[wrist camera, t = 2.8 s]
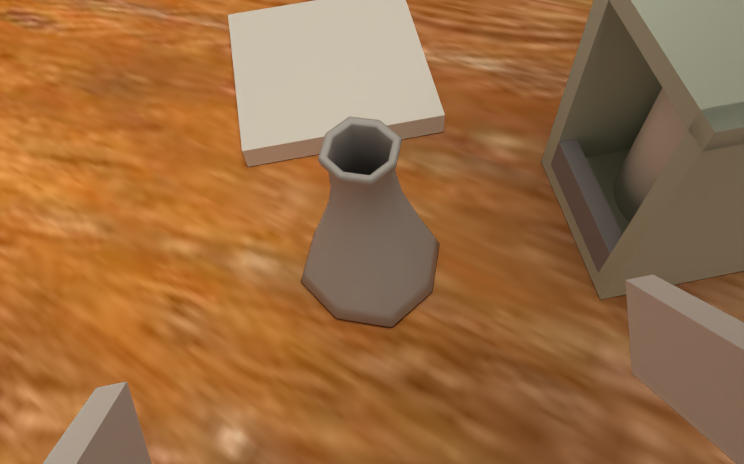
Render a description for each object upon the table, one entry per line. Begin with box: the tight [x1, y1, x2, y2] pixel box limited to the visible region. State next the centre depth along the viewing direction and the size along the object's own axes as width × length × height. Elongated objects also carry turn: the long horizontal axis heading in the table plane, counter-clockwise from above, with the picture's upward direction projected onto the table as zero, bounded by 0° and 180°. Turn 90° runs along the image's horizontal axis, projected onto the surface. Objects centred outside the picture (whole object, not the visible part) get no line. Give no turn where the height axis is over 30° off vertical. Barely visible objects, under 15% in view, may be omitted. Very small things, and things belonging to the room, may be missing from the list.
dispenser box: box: [541, 0, 744, 299], centre depth 27 cm, size 10×9×13 cm
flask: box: [301, 116, 439, 327], centre depth 28 cm, size 7×7×10 cm
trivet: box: [228, 0, 445, 167], centre depth 39 cm, size 12×12×2 cm
